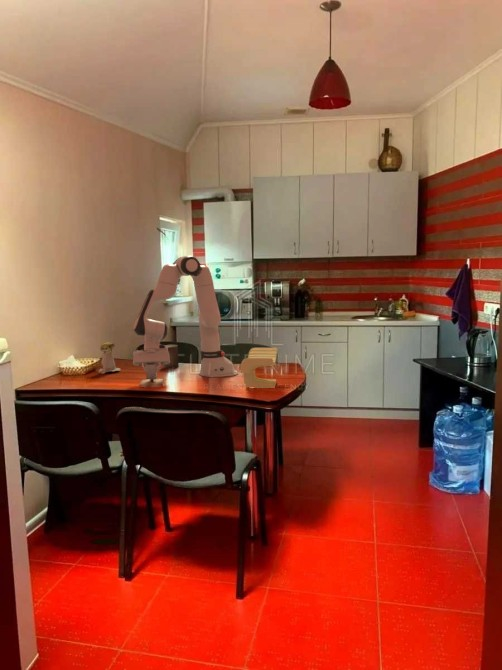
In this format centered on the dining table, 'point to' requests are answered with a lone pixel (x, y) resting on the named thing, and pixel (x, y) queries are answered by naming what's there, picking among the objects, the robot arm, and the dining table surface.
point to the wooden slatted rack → (255, 360)
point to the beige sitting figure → (107, 358)
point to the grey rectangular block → (151, 371)
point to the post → (152, 383)
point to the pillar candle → (172, 356)
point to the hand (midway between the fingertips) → (151, 370)
